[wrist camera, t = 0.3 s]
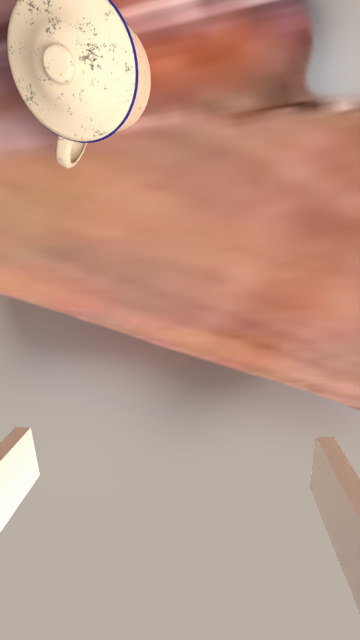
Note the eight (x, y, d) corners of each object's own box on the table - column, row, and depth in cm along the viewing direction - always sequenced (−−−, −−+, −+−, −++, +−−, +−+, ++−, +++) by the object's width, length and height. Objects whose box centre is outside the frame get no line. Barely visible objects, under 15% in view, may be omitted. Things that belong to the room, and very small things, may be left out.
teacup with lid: (70, -16, 25) (-12, -91, 16) (170, 47, 27) (151, 14, 18) (41, 136, 32) (-29, 149, 22) (124, 179, 34) (92, 208, 24)
